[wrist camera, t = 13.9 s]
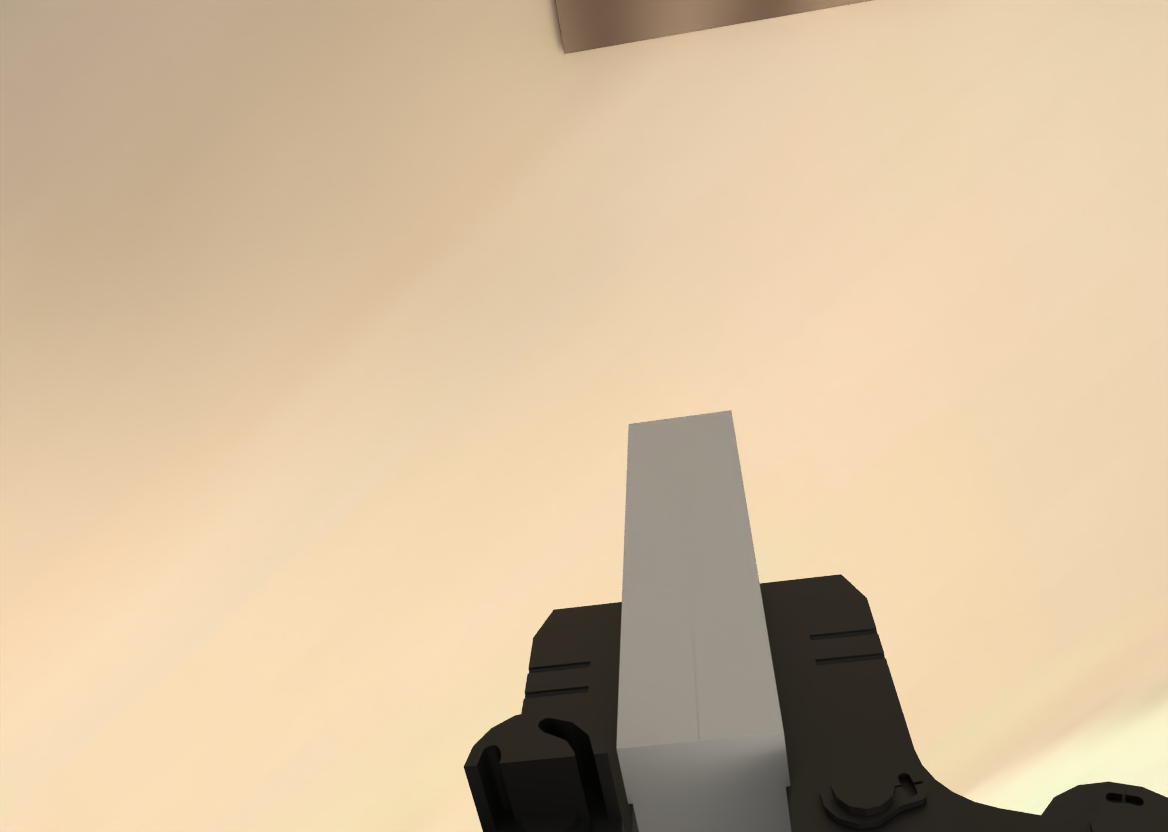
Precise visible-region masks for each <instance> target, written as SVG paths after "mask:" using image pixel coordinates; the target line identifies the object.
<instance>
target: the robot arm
mask: <svg viewBox="0 0 1168 832" xmlns="http://www.w3.org/2000/svg"><path fill="white" fill-rule="evenodd" d="M464 769H465V773H466V776H467V779H468V783H469V786H470V789H471V793H472V796H473V799H474V803H475V806H476V809H477V813H478V816H479V819H480V823H481V826H482V829H483V832H1168V798H1167V797H1165V796H1162V795H1160V794H1158V793H1155V792H1153V791H1151V790H1148V789H1146V788H1143V787H1139V786H1133V785H1126V784H1120V783H1113V782H1102V783H1093V784H1085V785H1078V786H1076V787H1074V788H1072V789H1070V790H1068V791H1066V792H1064V793H1062V794H1060V795H1058V796H1056V797H1054V798H1053V800H1052V801H1051V803H1050V804H1049V805H1048V807H1047V808H1046V809H1045V811H1044V812H1043V814H1042V815H1035V814H1030V813H1024V812H1018V811H1012V810H1006V809H1000V808H996V807H992V806H988V805H984V804H980V803H977V802H973V801H971V800H969V799H967V798H965V797H963V796H960V795H958V794H956V793H954V792H952V791H951V790H949V789H948V788H946V787H945V786H944V785H942V784H941V783H939V782H938V781H937V780H935V779H934V778H933V777H932V775H931V774H930V773H929V772H928V771H927V770H926V769H925V768H924V767H923V765H922V764H921V762H920V760H919V758H918V756H917V754H916V752H915V750H914V747H913V744H912V740H911V737H910V734H909V731H908V728H907V724H906V721H905V718H904V715H903V712H902V709H901V705H900V702H899V699H898V696H897V693H896V689H895V686H894V683H893V680H892V677H891V674H890V670H889V667H888V664H887V661H886V659H885V657H884V651H883V648H882V645H881V642H880V639H879V635H878V634H877V631H876V626H875V623H874V620H873V616H872V613H871V610H870V607H869V604H868V600H867V598H866V597H865V596H864V595H863V594H862V593H861V592H860V591H858V590H857V589H856V588H855V587H854V586H853V585H852V584H851V583H850V582H849V581H848V580H847V579H846V578H844V577H843V576H842V575H841V574H840V575H832V576H823V577H814V578H805V579H796V580H787V581H779V582H770V583H761V584H759V578H758V571H757V565H756V559H755V553H754V547H753V541H752V535H751V529H750V522H749V516H748V510H747V504H746V498H745V492H744V486H743V480H742V473H741V467H740V461H739V455H738V449H737V443H736V437H735V431H734V424H733V418H732V412H731V411H723V412H716V413H708V414H701V415H694V416H686V417H679V418H671V419H664V420H656V421H649V422H642V423H634V424H629V431H628V458H627V484H626V510H625V536H624V562H623V589H622V602H618V603H609V604H601V605H592V606H583V607H574V608H565V609H556V610H553V612H552V613H551V614H550V616H549V617H548V618H547V620H546V621H545V623H544V624H543V625H542V627H541V628H540V629H539V631H538V632H537V634H536V635H535V636H534V638H533V644H532V650H531V656H530V663H529V674H528V675H527V682H526V688H525V699H524V701H523V707H522V714H520V715H515V716H513V717H512V718H510V719H508V720H506V721H504V722H502V723H500V724H499V725H497V726H495V727H493V728H491V729H490V730H489V731H488V732H487V733H486V734H485V735H484V736H483V737H482V738H481V739H480V740H479V741H478V742H477V743H476V744H475V745H474V746H473V748H472V750H471V752H470V754H469V756H468V759H467V761H466V763H465V765H464Z"/></svg>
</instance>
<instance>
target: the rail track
mask: <svg viewBox="0 0 1168 832" xmlns="http://www.w3.org/2000/svg"><path fill="white" fill-rule="evenodd" d="M555 1H556V6H557V12H558V18H559V24H560V30H561V36H562V42H563V47H564V53H565V54H567V53H573V52H578V51H584V50H590V49H596V48H601V47H607V46H613V45H619V44H624V43H630V42H636V41H642V40H647V39H653V38H659V37H665V36H670V35H676V34H682V33H688V32H693V31H699V30H705V29H711V28H716V27H722V26H728V25H734V24H739V23H745V22H751V21H757V20H762V19H768V18H774V17H780V16H785V15H791V14H797V13H803V12H808V11H814V10H820V9H826V8H831V7H837V6H843V5H849V4H854V3H860V2H866V1H872V0H555Z"/></svg>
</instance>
